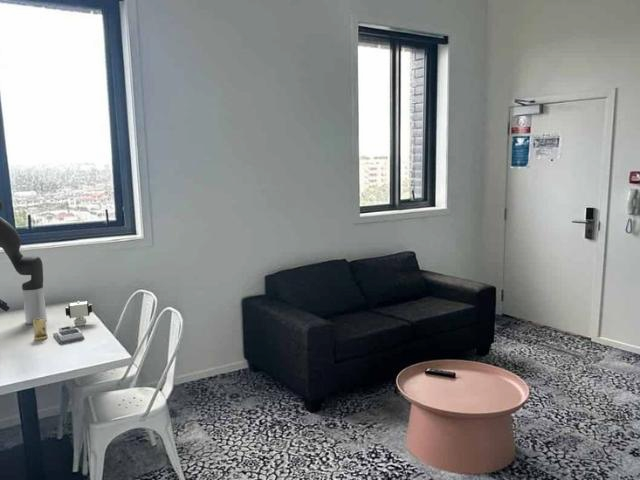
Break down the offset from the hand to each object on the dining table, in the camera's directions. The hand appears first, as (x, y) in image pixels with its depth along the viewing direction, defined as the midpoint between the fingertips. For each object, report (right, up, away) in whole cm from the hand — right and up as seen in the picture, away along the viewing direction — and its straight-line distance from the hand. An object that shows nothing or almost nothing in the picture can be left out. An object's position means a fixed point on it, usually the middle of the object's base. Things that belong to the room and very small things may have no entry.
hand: (7, 307), depth 228 cm
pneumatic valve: (+19, -12, +28) cm, 36 cm away
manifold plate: (+22, -15, +9) cm, 28 cm away
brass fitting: (+10, -15, +9) cm, 20 cm away
